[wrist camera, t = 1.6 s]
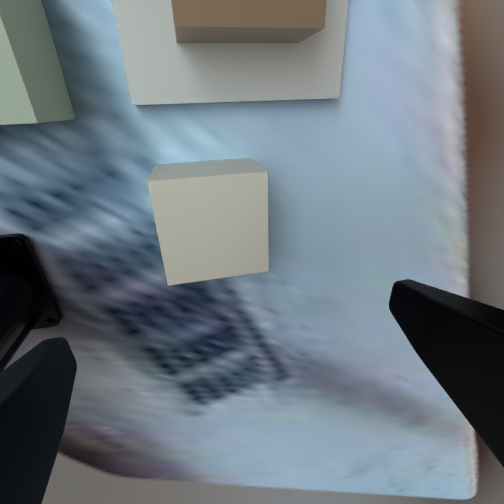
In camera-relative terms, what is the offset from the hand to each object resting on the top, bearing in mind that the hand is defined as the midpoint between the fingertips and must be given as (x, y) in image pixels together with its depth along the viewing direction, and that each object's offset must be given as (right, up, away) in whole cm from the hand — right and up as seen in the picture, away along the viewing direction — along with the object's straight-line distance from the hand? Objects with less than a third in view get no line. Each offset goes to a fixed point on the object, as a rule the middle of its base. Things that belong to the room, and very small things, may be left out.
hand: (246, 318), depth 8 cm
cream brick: (-3, +5, +10) cm, 12 cm away
